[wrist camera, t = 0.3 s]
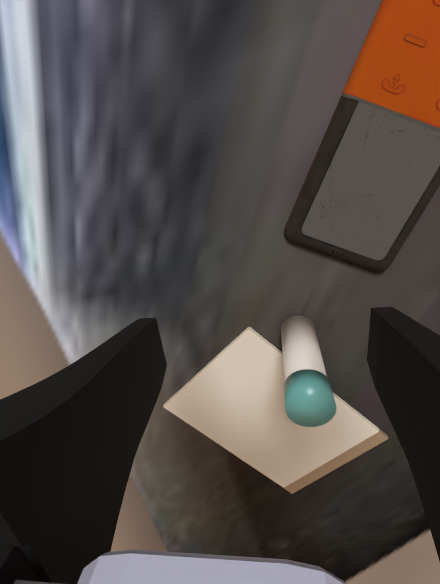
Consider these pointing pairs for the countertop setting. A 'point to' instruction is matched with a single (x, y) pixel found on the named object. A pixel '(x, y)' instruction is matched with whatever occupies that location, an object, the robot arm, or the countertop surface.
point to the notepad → (268, 416)
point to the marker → (305, 375)
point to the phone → (378, 144)
